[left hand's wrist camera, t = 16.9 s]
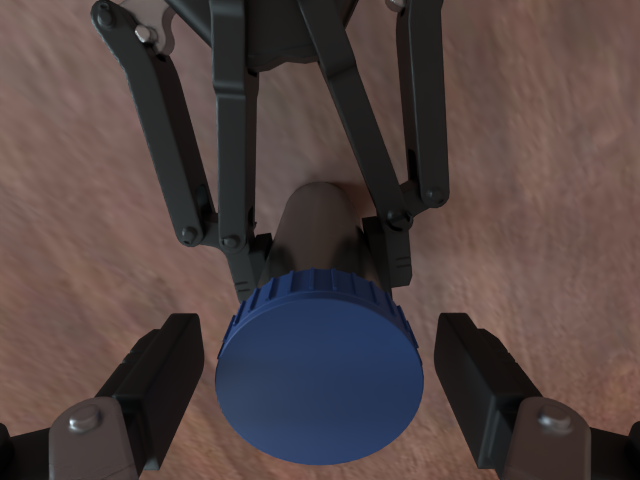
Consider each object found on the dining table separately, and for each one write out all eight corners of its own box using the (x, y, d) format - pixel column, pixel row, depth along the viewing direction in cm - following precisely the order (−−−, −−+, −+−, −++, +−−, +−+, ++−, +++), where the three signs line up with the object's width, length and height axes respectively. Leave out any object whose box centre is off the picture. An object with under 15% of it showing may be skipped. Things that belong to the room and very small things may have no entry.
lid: (389, 243, 10) (403, 269, 8) (425, 398, 12) (442, 445, 10) (199, 293, 10) (176, 327, 9) (262, 434, 12) (254, 484, 11)
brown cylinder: (364, 238, 25) (422, 412, 11) (298, 259, 25) (271, 451, 11) (343, 171, 23) (379, 272, 9) (273, 195, 24) (204, 324, 10)
